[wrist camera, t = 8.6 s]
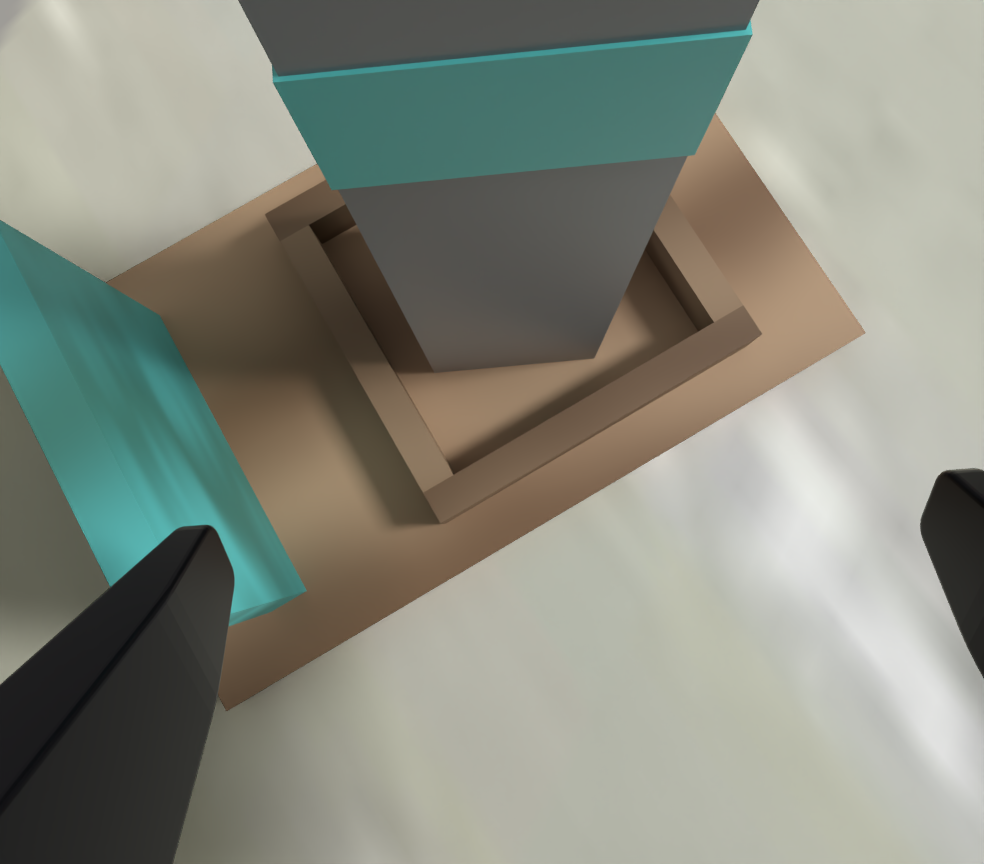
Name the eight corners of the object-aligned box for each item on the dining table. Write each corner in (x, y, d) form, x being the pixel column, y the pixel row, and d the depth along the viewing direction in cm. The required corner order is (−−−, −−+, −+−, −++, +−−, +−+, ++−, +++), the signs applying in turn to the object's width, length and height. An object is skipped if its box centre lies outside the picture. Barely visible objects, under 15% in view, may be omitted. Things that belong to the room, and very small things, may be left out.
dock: (847, 343, 19) (1040, 235, 12) (242, 701, 18) (73, 807, 11) (624, 14, 20) (680, -252, 13) (55, 334, 20) (-198, 229, 13)
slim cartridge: (596, 360, 18) (865, -201, 4) (432, 374, 18) (160, -126, 4) (579, 204, 19) (768, -755, 5) (420, 219, 19) (144, -677, 5)
